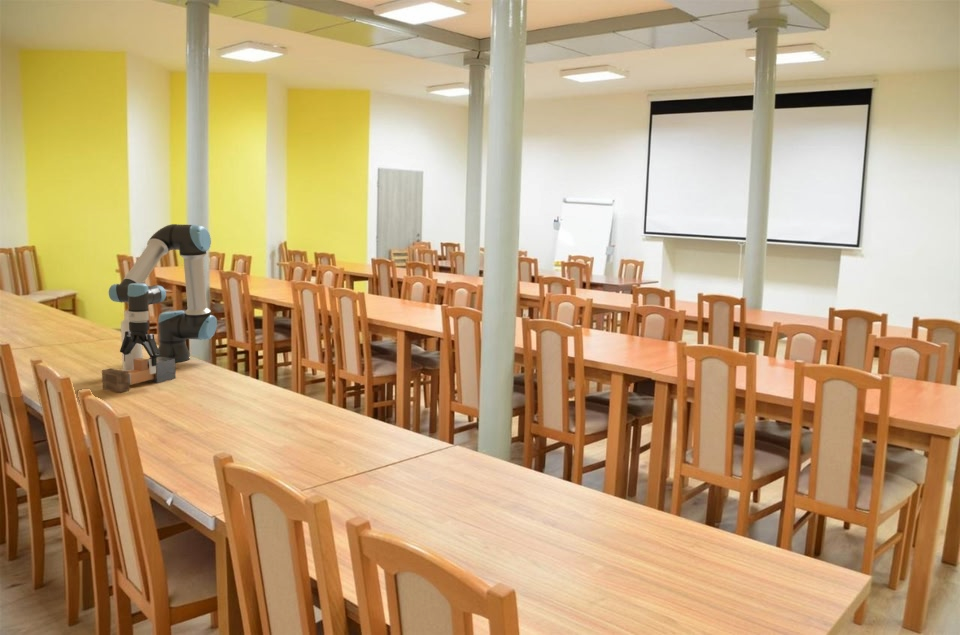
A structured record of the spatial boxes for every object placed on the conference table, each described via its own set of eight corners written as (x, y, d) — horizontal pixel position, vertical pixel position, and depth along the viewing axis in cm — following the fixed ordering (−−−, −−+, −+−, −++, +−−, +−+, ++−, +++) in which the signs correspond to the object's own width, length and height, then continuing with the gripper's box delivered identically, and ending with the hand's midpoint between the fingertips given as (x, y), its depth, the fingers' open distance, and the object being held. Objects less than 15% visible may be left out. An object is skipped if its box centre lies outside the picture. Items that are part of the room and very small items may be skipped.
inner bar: (161, 373, 326) (160, 353, 324) (168, 375, 324) (168, 354, 322) (122, 383, 307) (121, 361, 306) (130, 384, 306) (129, 363, 304)
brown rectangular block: (111, 387, 306) (110, 368, 305) (129, 390, 302) (128, 371, 301) (102, 389, 302) (101, 370, 301) (120, 393, 298) (119, 373, 297)
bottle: (138, 376, 325) (135, 312, 321) (119, 376, 325) (116, 312, 321) (146, 372, 333) (144, 310, 329) (128, 372, 333) (125, 309, 329)
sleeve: (160, 375, 328) (159, 356, 327) (175, 378, 324) (174, 358, 323) (141, 380, 319) (140, 360, 318) (157, 383, 315) (156, 363, 314)
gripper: (109, 319, 311) (111, 369, 314) (153, 325, 301) (155, 377, 304) (124, 317, 318) (126, 366, 321) (168, 322, 308) (170, 373, 311)
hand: (140, 371), depth 313 cm, fingers open, 13 cm apart
